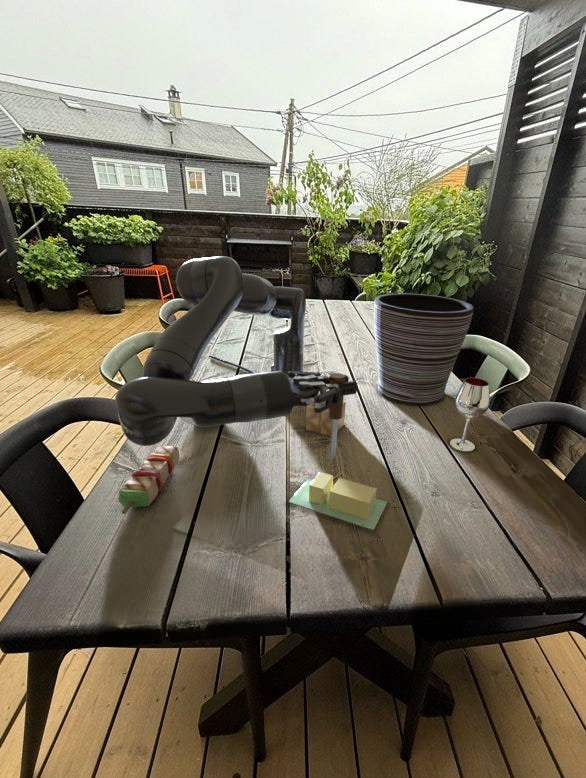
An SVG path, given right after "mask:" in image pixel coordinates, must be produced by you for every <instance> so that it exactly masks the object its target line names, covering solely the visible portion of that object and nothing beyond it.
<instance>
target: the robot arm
mask: <svg viewBox="0 0 586 778" xmlns="http://www.w3.org/2000/svg"><path fill="white" fill-rule="evenodd" d="M175 276H176V277H175V283H176V284H175V285H176V289H177V291H178V293H179V295H180V296H181V299H182V300H184V302H186V303H187V304H188V305H189V306H191V307H192V308H190V309H188V311H186V312H185V313H184V314H182V315H181V316H179V317H178V318H177V319H176V320H174V321H173V322H172V323H171V324H170V325H168V326H167V327H166V328H165V329H164V330H163V331H162V333H161V334H160V335H159V337H158V338H157V340H156V341H155V343H154V345H153V346H152V348H151V350H150V352H149V353H148V355H147V356H146V359H145V360H144V363H143V367H142V377H138V378H135V379H132V380H129V381H128V382H126V383H124V384H123V385H122V386H120V388H118V390H117V391H116V394H115V396H114V404H115V409H116V413H117V416H118V420H119V424H120V429H121V430H122V432H123V435H124V436H125V437H126V438H127V440H129V442H131V443H133V444H135V445H137V446H142V447H149V446H155V445H157V444H159V443H161V442H162V441H163V440H165V439H166V438H167V437H168V436H169V435H170V433H171V432H172V430H173V429H174V427H175V424H176V422H177V419H178V418H179V417H189V418H192V420H193V422H194V423H195V424H196V425H195V426H197V427H198V428H199V427H200V428H212V427H211V426H213V427H217V426H222V425H223V426H224V425H229V424H237V423H238V424H239V423H252V422H257V421H264V420H270V419H276V418H283V417H287V416H289V415H290V414H291V412H292V410H293V408H294V407H295V408H296V407H304V408H305V407H307V406H308V405H310V406H313V407H314V412H316V413H320V412H322V411H325V410H327V409H329V408H331V407H333V406H335V405H337V404H339V403H340V396H344V397H345V396H350V395H356V394H357V392H358V382H356V381H355V380H351V381H350V380H349V378H350V377H349V376H348V375H347V374H344V375H345V382H342V383H337V384H336V383H334V384H330V376H328V375H326V374H323V375H322V373H321V372H318V371H317V372H315V371H314V372H313V371H304V340H305V339H304V337H305V322H306V321H305V320H306V308H307V298H306V294H305V291H304V290H303V289H302V288H298V287H289V286H274V285H273V284H272V283H271V281H269V280H268V279H266V278H264V277H261V276H259V275H257V274H253V273H243V272H242V269H241V267H240V265H239V264H238V262H237V261H236V260H235V259H233V258H232V257H229V256H223V255H221V256H220V255H218V256H211V257H201V258H193V259H190V260H188V261H186V262H184V263H182V265H180V267H179V268H178V270H177V272H176V275H175ZM233 312H235V313H239V314H240V313H241V314H246V315H250V316H257V317H259V316H262V317H263V316H268V317H271V318H273V319H276V320H285V321H290V325H289V326H287V327H285V328H280V329H277V330H276V331H274V332H273V333H272V334H273V335H272V351H273V353H272V354H273V359H272V360H273V364H271V365H270V371H266V372H254V371H253V370H250V369H248V368H247V367H244V366H242V365H239V364H236V363H234V362H231V361H228V360H225V359H223V360H224V361H223V360H222V358H220V357H217V356H215V355H212V356H210V355H211V354H209V355H208V357H209V358H211V359H214V360H216V361H219V362H221V363H224V364H227V365H230V366H232V367H235V368H238V369H241V370H242V371H245V372H247V373H248V374H241V375H236V376H233V377H228V378H227V377H226V378H218V379H210V380H203V381H195V380H192V378H193V375H194V373H195V371H196V370H197V369H196V368H197V366H198V365H199V362H200V360H201V358H202V356H203V354H204V352H205V350H206V349H207V346H208V345H209V344H210V342H211V341H212V340H213V338H214V337H215V335H216V334H217V333H218V331H219V330H220V329H221V328H222V326H223V325H224V323H225V322H226V321H227V320H228V318H229V317H230V315H231V314H232V313H233ZM213 356H214V357H213ZM220 359H221V360H220ZM329 389H331V390H329Z"/></svg>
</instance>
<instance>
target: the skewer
mask: <svg viewBox="0 0 586 778" xmlns="http://www.w3.org/2000/svg"><path fill="white" fill-rule="evenodd" d="M179 461H180V450H179V448H178V447H177V446H173V445H163V444H162V445H159V446H157V448H156V449H155V450H154V451H153V452H152V453H149V455H148V458H146V460H144V462H143V463H142V464H141V466H140V467H139V468H138V470H134V471H133V473H131V476H130V477H129V478H128V480H127V481H125V483H124V484H123V485H122V486H121V488H120V489H119V490H118V502H119V503H120V505H121V506H122V507H123V509H122V510H121V514H122V515H126V514H127V512H128V511H130V508H137V507H139V508H140V507H141V508H142V507H143V508H145V507H149V506H150V504H151V503H153V501H154V500H155V498H156V497H157V495H158V494H159V492H161V490H162V489H164V487H165V482H166V481H167V479H168V478H169V477H170V475H172V473H173V470H175V466H176V465H177V463H178V462H179Z"/></svg>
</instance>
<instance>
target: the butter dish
mask: <svg viewBox="0 0 586 778" xmlns="http://www.w3.org/2000/svg"><path fill="white" fill-rule="evenodd" d="M313 480H314V478H313V479H312V478H307V479H306V481H304V483H303V484H302V485H301V486H300V488H299V489H298V490H297V491H296V492H295V493H294V494H293V496H292V497H291V498H290V499H289V500H288V503H290V504H294V505H296V506H299V507H303V508H306V509H309V510H311V511H314V512H317V513H321V514H324V515H327V516H330V517H333V518H336V519H339V520H342V521H345V522H348V523H351V524H354V525H358V526H360V527H363V528H367V529H370V530H372V531H374V530H375V528H376V526H377V524H378V522H379V520H380V518H381V516H382V514H383V512H384V510H385V508H386V507H387V504H388V501H386V500H382V499H379V498H377V492H378V488H376V487H373V486H369V485H366V484H362V483H359V482H355V481H352V480H348V479H345V478H342V477H339V478H338V479H337V481H336V482H335V484H333V488H332V489H331V490H330V495H329V497H328V498H327V500H326V501H325V502H324V504H323V505H320V504H317V503H313V502H310V501H309V485H310V484H311V482H312V481H313Z"/></svg>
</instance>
